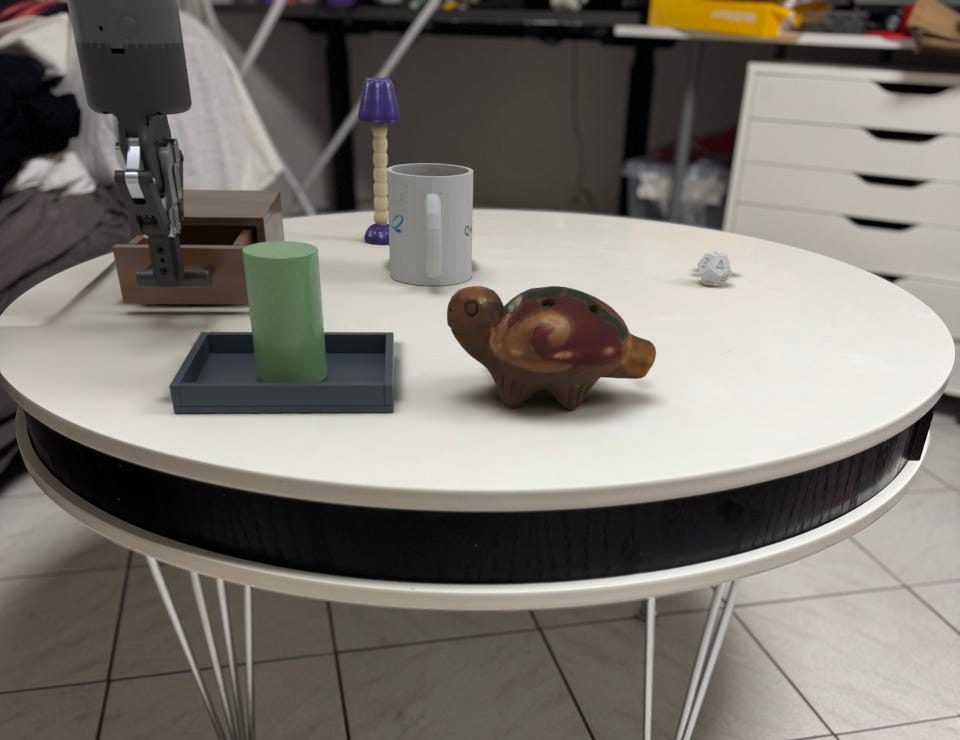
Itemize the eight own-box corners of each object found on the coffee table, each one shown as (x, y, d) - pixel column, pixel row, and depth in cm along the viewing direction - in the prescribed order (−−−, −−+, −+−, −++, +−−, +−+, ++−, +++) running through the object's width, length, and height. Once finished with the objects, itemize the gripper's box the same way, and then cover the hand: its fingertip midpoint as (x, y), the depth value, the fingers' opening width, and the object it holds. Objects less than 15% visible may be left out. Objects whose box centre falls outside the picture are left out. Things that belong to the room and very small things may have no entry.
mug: (398, 263, 100) (395, 161, 94) (476, 267, 99) (478, 165, 93) (375, 292, 90) (370, 180, 84) (461, 297, 89) (462, 185, 83)
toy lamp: (410, 240, 109) (407, 78, 100) (386, 247, 106) (381, 80, 96) (379, 235, 111) (373, 75, 102) (354, 241, 108) (346, 77, 99)
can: (253, 388, 66) (236, 257, 61) (261, 364, 70) (247, 240, 65) (325, 388, 66) (314, 258, 61) (329, 364, 71) (320, 241, 65)
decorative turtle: (435, 377, 70) (442, 267, 66) (623, 385, 73) (641, 280, 68) (449, 418, 62) (458, 296, 58) (660, 426, 64) (683, 309, 60)
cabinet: (271, 289, 90) (263, 217, 86) (141, 289, 89) (127, 215, 85) (286, 255, 102) (280, 190, 98) (171, 254, 101) (160, 189, 97)
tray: (174, 413, 63) (169, 385, 62) (204, 356, 73) (201, 331, 72) (393, 412, 64) (392, 384, 63) (394, 356, 74) (393, 332, 73)
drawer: (245, 317, 79) (238, 259, 76) (111, 317, 78) (98, 258, 75) (269, 268, 93) (264, 217, 90) (156, 267, 92) (147, 216, 90)
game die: (722, 279, 98) (727, 249, 96) (734, 288, 94) (739, 257, 93) (690, 279, 97) (695, 249, 95) (701, 288, 94) (706, 257, 92)
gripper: (101, 32, 71) (143, 265, 81) (46, 38, 60) (103, 306, 70) (198, 34, 71) (229, 266, 81) (161, 40, 61) (202, 307, 71)
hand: (170, 284), depth 76 cm, fingers closed
